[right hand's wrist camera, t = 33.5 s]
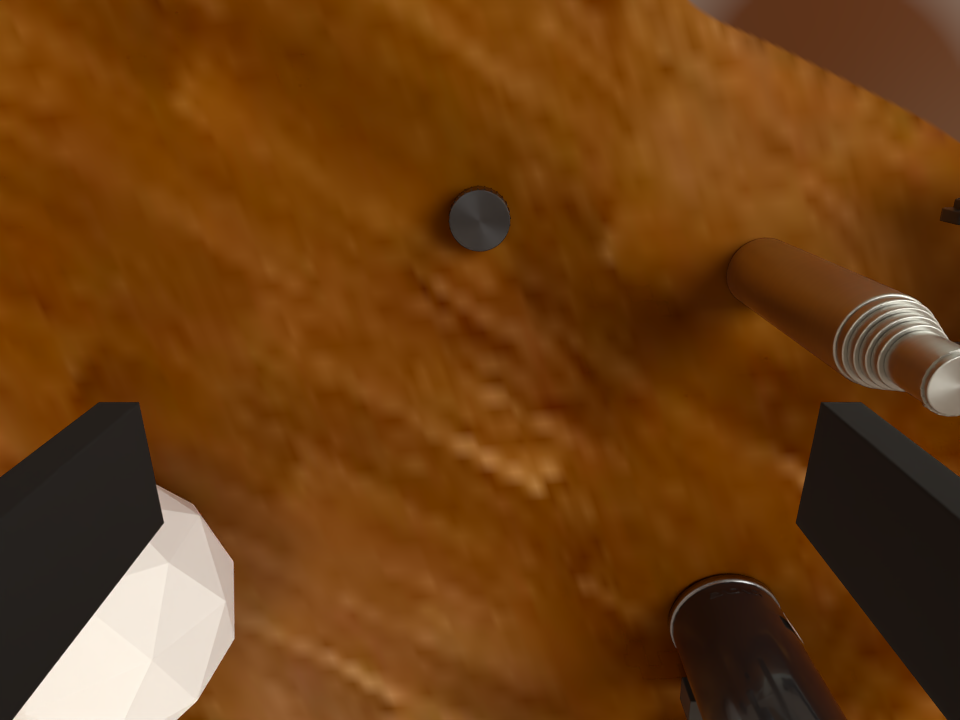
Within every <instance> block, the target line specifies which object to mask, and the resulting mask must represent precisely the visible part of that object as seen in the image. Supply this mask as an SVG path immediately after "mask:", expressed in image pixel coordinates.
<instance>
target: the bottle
mask: <svg viewBox="0 0 960 720" xmlns="http://www.w3.org/2000/svg"><path fill="white" fill-rule="evenodd" d="M727 284H728V287H729V290H730V291H731V293H732V294H733V296H734V297H735V298H737V299H738V300H739V301H741V302H742V303H743V304H745V305H746V306H747V307H749V308H750V309H752V310H753V311H754V312H756V313H757V314H759V315H760V316H761V317H763V318H764V319H765V320H767V321H768V322H770V323H771V324H772V325H774V326H775V327H776V328H778V329H779V330H781V331H782V332H783V333H785V334H786V335H787V336H789V337H790V338H792V339H793V340H794V341H796V342H797V343H799V344H800V345H801V346H803V347H804V348H805V349H807V350H808V351H810V352H811V353H812V354H814V355H815V356H816V357H818V358H819V359H821V360H822V361H823V362H825V363H826V364H828V365H829V366H830V367H832V368H833V369H834V370H836V371H837V372H839V373H840V374H841V375H843V376H844V377H845V378H847V379H849V380H850V381H852V382H854V383H857V384H860V385H862V386H865V387H868V388H874V389H883V390H893V391H902V392H907V393H909V394H910V395H912V396H913V397H915V398H916V399H918V400H919V401H921V402H923V406H925V407H926V408H928V409H929V410H931V411H932V412H934V413H936V414H938V415H943V416H959V415H960V345H958V344H956V343H954V342H952V341H950V340H949V339H948V337H947V335H946V334H945V333H944V331H943V329H942V328H941V326H940V324H939V322H938V321H937V320H936V318H935V317H934V315H933V314H932V312H931V311H930V310H929V309H928V308H927V307H925V306H924V305H923V304H922V303H921V302H919V301H918V300H916V299H915V298H913V297H911V296H908V295H906V294H904V293H901V292H899V291H897V290H894V289H892V288H890V287H887V286H885V285H883V284H880V283H878V282H876V281H873V280H871V279H869V278H866V277H864V276H862V275H859V274H857V273H854V272H852V271H850V270H847V269H845V268H843V267H840V266H838V265H836V264H833V263H831V262H829V261H826V260H824V259H822V258H819V257H817V256H815V255H812V254H810V253H808V252H805V251H803V250H801V249H798V248H796V247H794V246H791V245H789V244H786V243H784V242H782V241H779V240H777V239H773V238H760V239H756V240H753V241H751V242H749V243H747V244H745V245H744V246H742V247H741V248H740V249H739V250H738V251H737V252H736V253H735V254H734V256H733V257H732V259H731V261H730V263H729V265H728V269H727Z"/></svg>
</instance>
